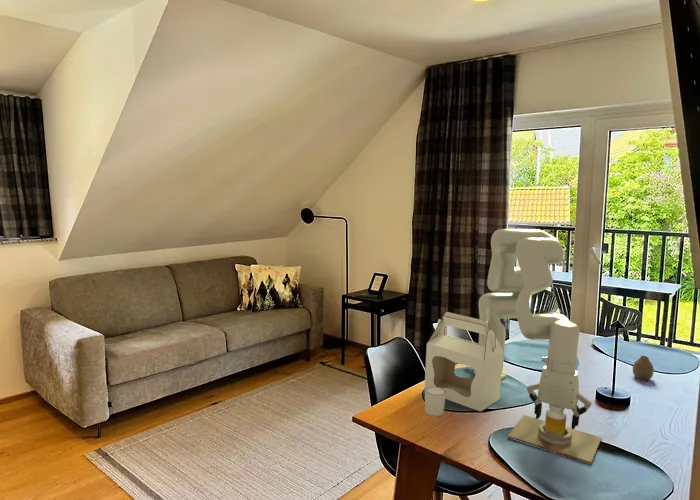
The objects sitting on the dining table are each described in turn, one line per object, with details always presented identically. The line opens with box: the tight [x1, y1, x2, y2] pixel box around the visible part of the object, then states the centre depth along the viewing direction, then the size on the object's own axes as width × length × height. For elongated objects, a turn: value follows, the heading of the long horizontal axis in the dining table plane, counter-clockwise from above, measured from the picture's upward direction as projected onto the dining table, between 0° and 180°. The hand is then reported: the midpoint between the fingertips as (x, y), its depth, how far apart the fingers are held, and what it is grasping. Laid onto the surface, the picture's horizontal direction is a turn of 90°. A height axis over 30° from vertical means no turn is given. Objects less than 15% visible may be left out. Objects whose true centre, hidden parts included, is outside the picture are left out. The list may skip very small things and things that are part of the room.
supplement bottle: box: [544, 404, 567, 436], centre depth 142 cm, size 5×5×10 cm
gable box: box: [424, 311, 503, 412], centre depth 168 cm, size 22×13×28 cm, turn 47°
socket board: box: [507, 414, 603, 465], centre depth 143 cm, size 22×16×3 cm
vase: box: [632, 355, 655, 381], centre depth 189 cm, size 7×7×9 cm
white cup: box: [424, 387, 447, 417], centre depth 157 cm, size 7×7×7 cm
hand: (555, 422), depth 142 cm, fingers open, 9 cm apart
